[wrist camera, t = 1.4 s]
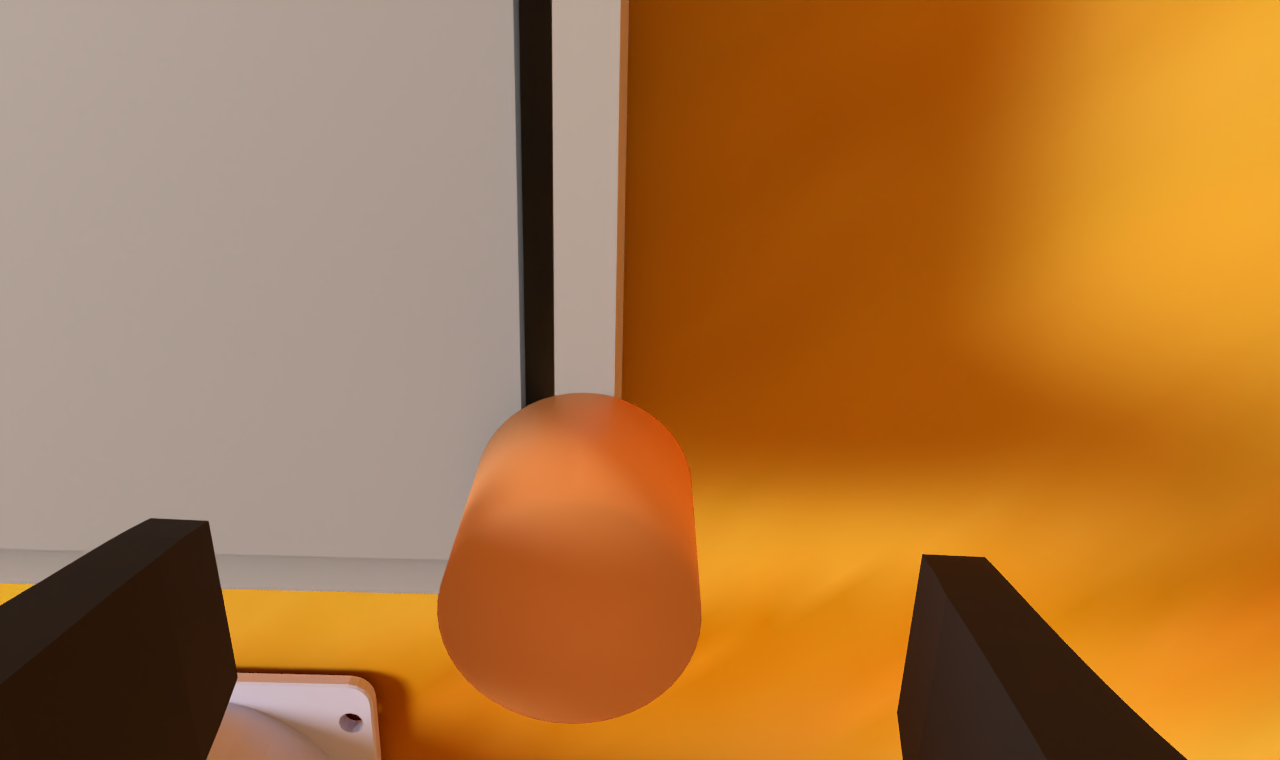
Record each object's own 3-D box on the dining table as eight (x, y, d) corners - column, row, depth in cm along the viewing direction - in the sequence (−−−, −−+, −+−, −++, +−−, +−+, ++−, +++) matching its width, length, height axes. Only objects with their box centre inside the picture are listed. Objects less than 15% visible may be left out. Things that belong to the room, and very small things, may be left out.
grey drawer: (677, 438, 22) (693, 759, 13) (524, 434, 22) (445, 753, 13) (714, -501, 16) (786, -978, 7) (506, -507, 16) (348, -988, 7)
